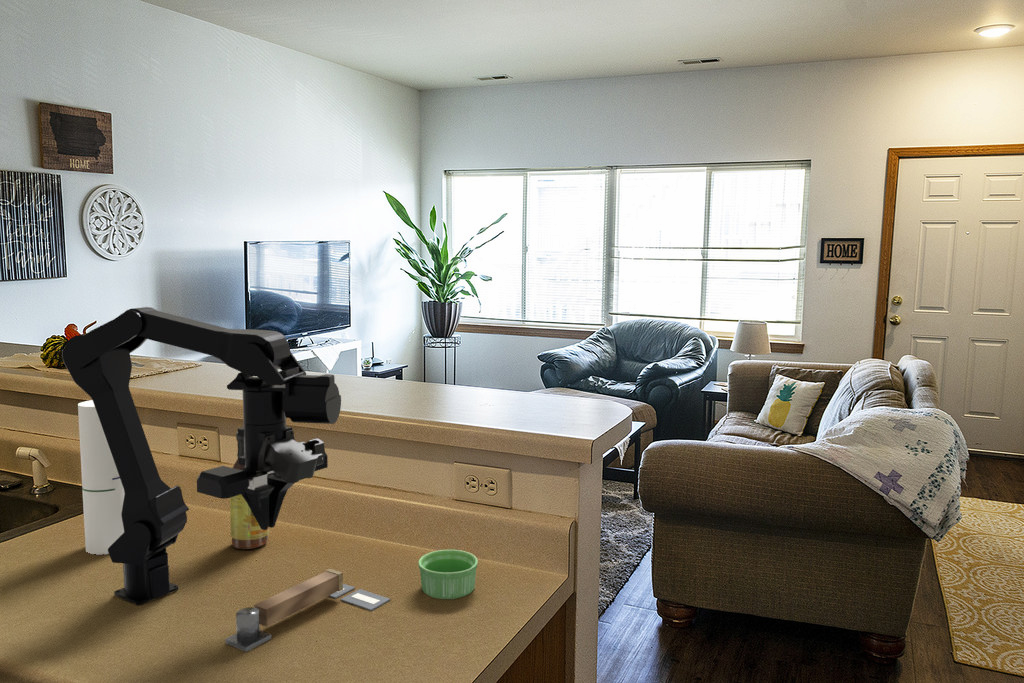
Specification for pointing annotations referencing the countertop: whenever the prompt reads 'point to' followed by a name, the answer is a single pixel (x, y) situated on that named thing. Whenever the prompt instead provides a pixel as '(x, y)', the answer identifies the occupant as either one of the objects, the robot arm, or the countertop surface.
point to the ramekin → (448, 573)
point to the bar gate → (299, 597)
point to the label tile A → (342, 591)
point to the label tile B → (365, 599)
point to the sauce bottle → (244, 516)
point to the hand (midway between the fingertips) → (267, 528)
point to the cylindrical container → (98, 484)
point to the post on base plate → (247, 630)
